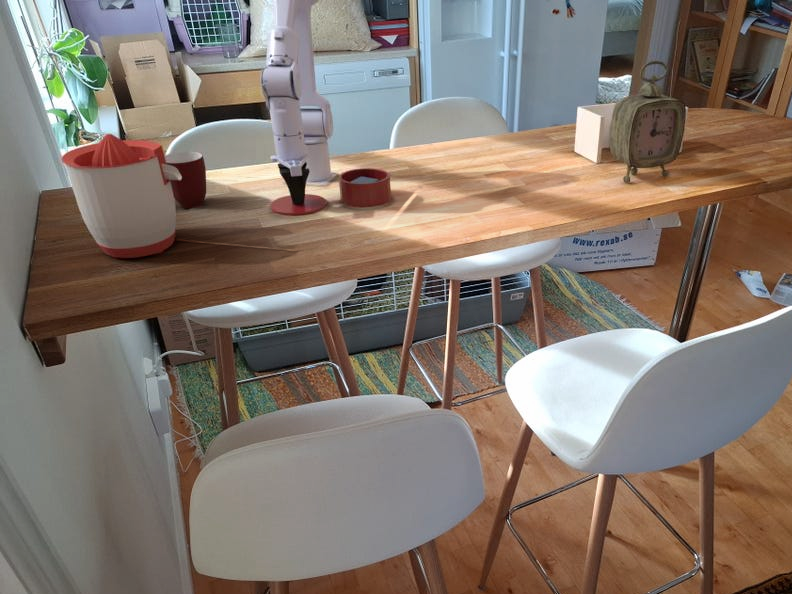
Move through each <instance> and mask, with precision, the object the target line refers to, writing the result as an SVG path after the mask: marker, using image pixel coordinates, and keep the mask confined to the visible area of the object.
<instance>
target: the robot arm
mask: <svg viewBox="0 0 792 594" xmlns="http://www.w3.org/2000/svg"><path fill="white" fill-rule="evenodd" d="M319 1H320V0H272V5H273V8H272V9H273V28H271V29H270V30H269V31H268V32H267V41H266V42H267V43H266V59H265V68H261V70H260V86H261V91H262V95H263V97H264V100H265V106H266V110H269V116H270V122H271V128H272V129H271V130H272V135H273V136H272V137H273V141H274V142H273V143H274V149H275V155H270V161H271V162H272V163H277V167H278V169H279V174H280V176H281V177H282V179H283V180H284V182H285V184H286V186H287V189H288V192H289V195H291V199H292V201H293V203H294V204H302V203H304V201H305V194H306V186H307V184H319V185H326V184H327V183H329V182H330V181H331V180H332V179H333V178H335V177H336V176H339V173H338V172H332V168H331V161H330V160H331V159H330V151H329V150H330V149H329V143H328V141H329V140H328V139H331V138H332V136H333V134H334V120H333V113H332V109H331V108H332V107H331V103H330V102H329V100H328V99H327V98H326V97H324V96H323V95H321V94H320V93H319V92H318V91H317V83H316V71H315V70H316V69H315V59H314V57H315V56H314V46H313V45H314V44H313V34H312V32H313V31H312V21H311V19H312V18H311V17H312V15H311V14H312V6H314V5H315V4H317V3H319ZM301 107H317V108H301Z"/></svg>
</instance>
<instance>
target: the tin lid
mask: <svg viewBox="0 0 792 594" xmlns="http://www.w3.org/2000/svg"><path fill="white" fill-rule="evenodd" d="M327 204H328V202H327V199H326V198H325V197H323V196H320V195H317V194H312V193H305V201H304V203H302V204H294V203H293V201H292V199H291V195H290V194H289V195H284V196H281V197H278V198H276V199H273V201H271V203H270V205H269V207H270V210H271V211H272V212H273V213H275V214H277V215H283V216H304V215H310V214H314V213H317V212H319V211H322V210H323V209H325V208H326V206H327Z"/></svg>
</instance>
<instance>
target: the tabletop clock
mask: <svg viewBox="0 0 792 594" xmlns="http://www.w3.org/2000/svg"><path fill="white" fill-rule="evenodd" d="M652 65H661V66H663V68H664V73H663V74H662V75H661V76H659V77H656V75H655V74H651V75H650V78H646V77H644V76H643V72H644V70H645V69H646V68H647V67H649V66H652ZM667 73H668V65H667V64H666V63H665V62H664V61H662V60H650V61H648V62H646V63H645V64H644V65H643V66H642V67H641V69H640V71H639V77H640V79H641V80H642V81H644V82H646V83H644V84H643V85H642V86H641V87H640V89H639V91H638V93H637V94H631V95H627V96H624V97H622V98H620V99H618V100H617V101H616V102H615V103H616V104H615V106H614V110H613V114H612V121H611V127H610V148H609V150H610V155H611V157H612V158H613V159H615V160H617V161H619V162H620V163H621V162H622V163H623V164H625V165H627V168H626V175H624V176H623V179H622V180H623V182H624V183H625V184H628V183H630V181H631V176H630V174H631V175H633V176H634V175H637V174H638V172H639V170H638V169H650V168H652V169H653V168H656V167H660V168H661V170H662V172H661V175H662V177H664V178H667V177H669V175H670V171H669V170H668V169H666V168H665V165H669V164H671V163H673V162H674V161H676V160H677V158H678V156H679V154H680V153H679V151H680V147H681V144H682V139H683V140H684V138H683V134H684V135H685V131H684V128H685V129H686V125H685V118H686V108H685V107H686V103H685V102H684V101H682V100H679V99H677V98H673V97H670V96H667V95H664V94H663V89H662V86H661V85H660V84H658V83H656V82H660V81H661V80H663V79H664V78H665V77H666V75H667ZM682 145H683V144H682Z"/></svg>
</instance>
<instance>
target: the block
mask: <svg viewBox="0 0 792 594" xmlns="http://www.w3.org/2000/svg"><path fill="white" fill-rule="evenodd" d="M377 181H379V179H373V178H367V177H359V178H357V179H355V180H353V181H351V182H352V183H371V182H377Z"/></svg>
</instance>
